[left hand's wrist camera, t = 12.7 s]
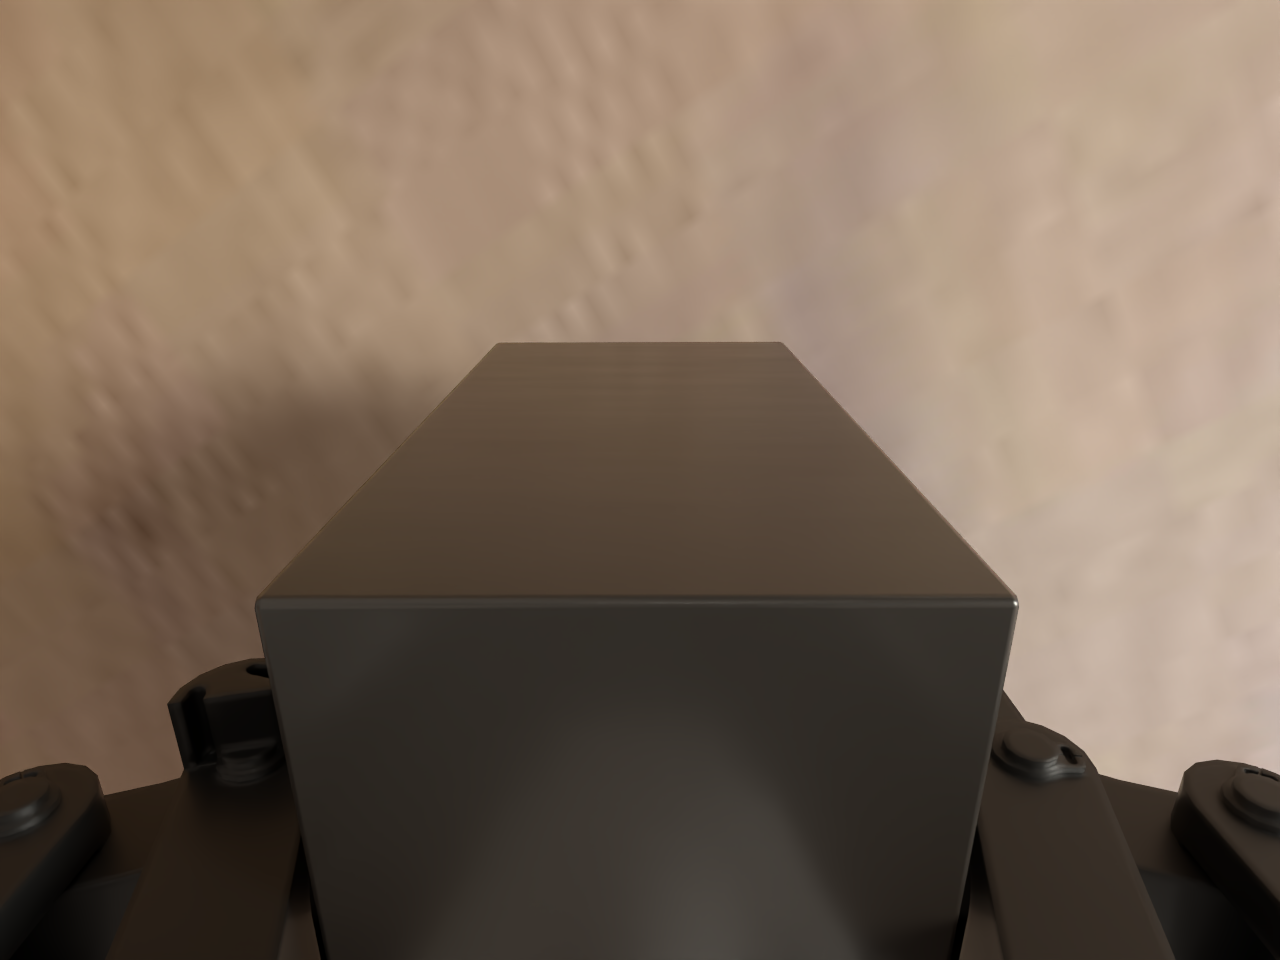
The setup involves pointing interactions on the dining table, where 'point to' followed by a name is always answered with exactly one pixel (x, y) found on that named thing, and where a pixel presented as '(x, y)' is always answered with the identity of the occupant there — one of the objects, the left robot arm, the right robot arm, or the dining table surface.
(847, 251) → the dining table surface
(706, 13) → the dining table surface
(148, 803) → the left robot arm
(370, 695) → the beam
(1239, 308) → the dining table surface
